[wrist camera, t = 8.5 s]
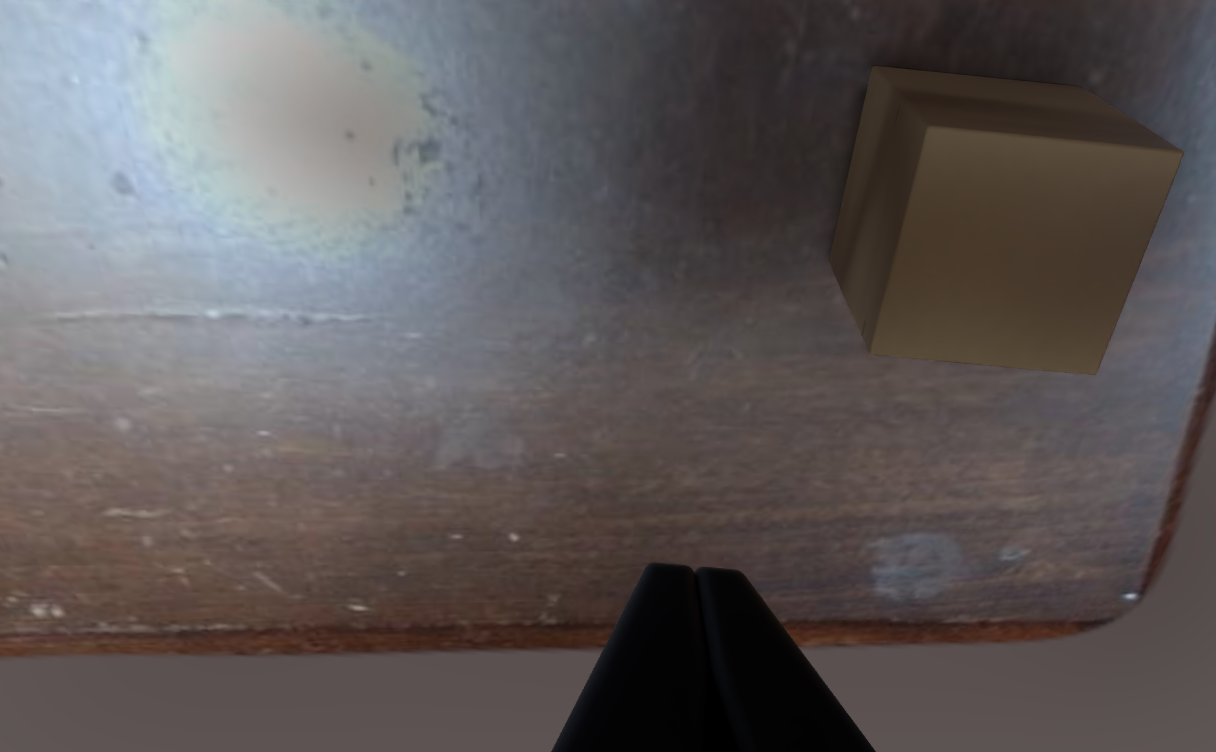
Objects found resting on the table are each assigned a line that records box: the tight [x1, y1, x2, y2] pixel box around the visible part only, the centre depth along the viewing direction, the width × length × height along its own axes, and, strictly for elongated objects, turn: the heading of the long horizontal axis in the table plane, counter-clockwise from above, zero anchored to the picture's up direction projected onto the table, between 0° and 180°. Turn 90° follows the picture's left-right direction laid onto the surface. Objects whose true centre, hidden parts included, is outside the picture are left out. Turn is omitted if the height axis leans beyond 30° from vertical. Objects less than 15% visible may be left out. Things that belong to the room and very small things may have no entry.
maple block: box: [829, 66, 1184, 375], centre depth 18 cm, size 4×4×4 cm
